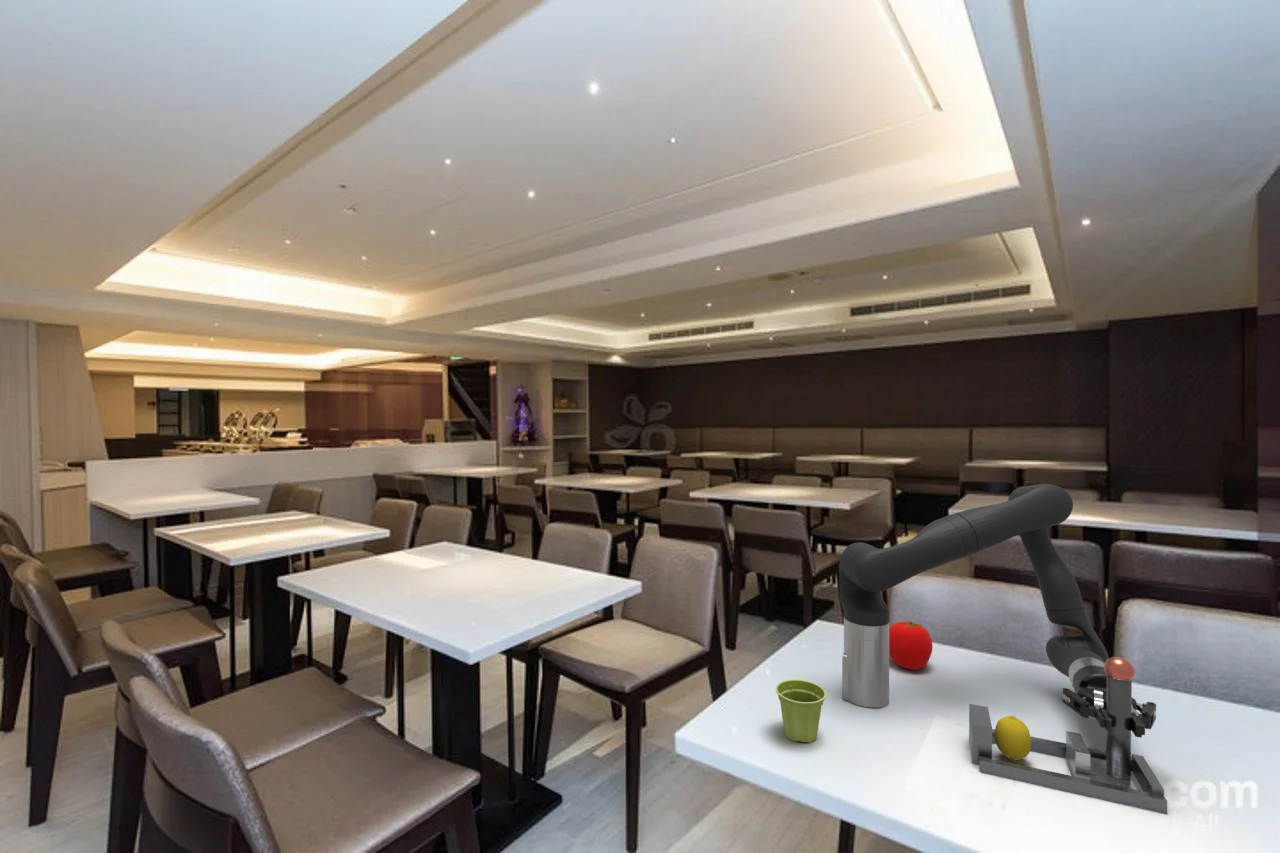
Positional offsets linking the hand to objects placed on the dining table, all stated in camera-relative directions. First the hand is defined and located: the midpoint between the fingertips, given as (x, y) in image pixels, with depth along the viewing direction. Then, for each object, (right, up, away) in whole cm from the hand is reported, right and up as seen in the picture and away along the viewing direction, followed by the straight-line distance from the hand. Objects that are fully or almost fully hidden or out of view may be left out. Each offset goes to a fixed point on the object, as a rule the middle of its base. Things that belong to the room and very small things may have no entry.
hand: (1124, 728), depth 95 cm
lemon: (-12, -11, +9) cm, 19 cm away
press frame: (-7, -10, +7) cm, 14 cm away
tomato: (-12, -10, +49) cm, 51 cm away
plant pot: (-47, -11, +18) cm, 52 cm away
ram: (-1, -10, +4) cm, 11 cm away
